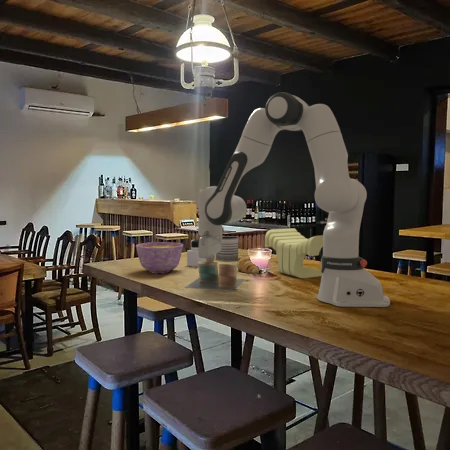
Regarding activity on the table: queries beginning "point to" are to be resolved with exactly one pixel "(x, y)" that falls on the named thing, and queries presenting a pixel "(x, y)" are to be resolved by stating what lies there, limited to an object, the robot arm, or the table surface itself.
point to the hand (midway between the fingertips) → (210, 266)
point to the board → (211, 285)
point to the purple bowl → (159, 256)
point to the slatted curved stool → (294, 251)
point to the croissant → (247, 266)
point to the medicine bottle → (194, 254)
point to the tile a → (208, 271)
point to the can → (228, 249)
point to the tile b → (227, 275)
